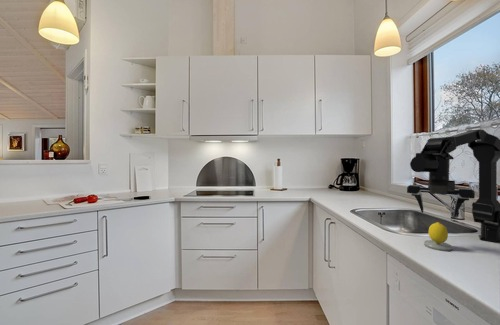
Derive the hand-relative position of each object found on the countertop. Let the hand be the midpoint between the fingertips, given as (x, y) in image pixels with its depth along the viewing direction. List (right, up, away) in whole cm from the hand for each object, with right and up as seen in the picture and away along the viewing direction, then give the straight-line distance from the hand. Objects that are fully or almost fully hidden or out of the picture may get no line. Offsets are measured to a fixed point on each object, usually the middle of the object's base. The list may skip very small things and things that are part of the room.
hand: (438, 214), depth 86 cm
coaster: (0, -12, 0) cm, 12 cm away
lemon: (0, -11, 0) cm, 11 cm away
